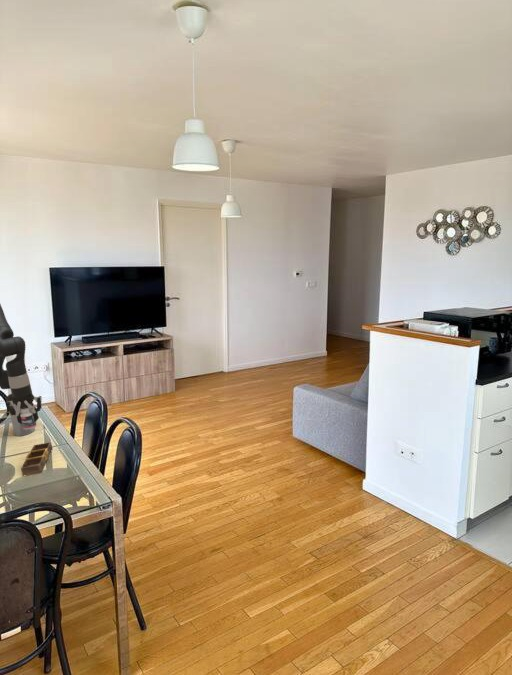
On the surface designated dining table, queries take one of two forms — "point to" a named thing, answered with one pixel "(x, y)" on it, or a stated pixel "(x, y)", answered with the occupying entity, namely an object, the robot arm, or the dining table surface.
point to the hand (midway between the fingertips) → (28, 421)
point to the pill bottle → (27, 418)
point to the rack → (36, 459)
